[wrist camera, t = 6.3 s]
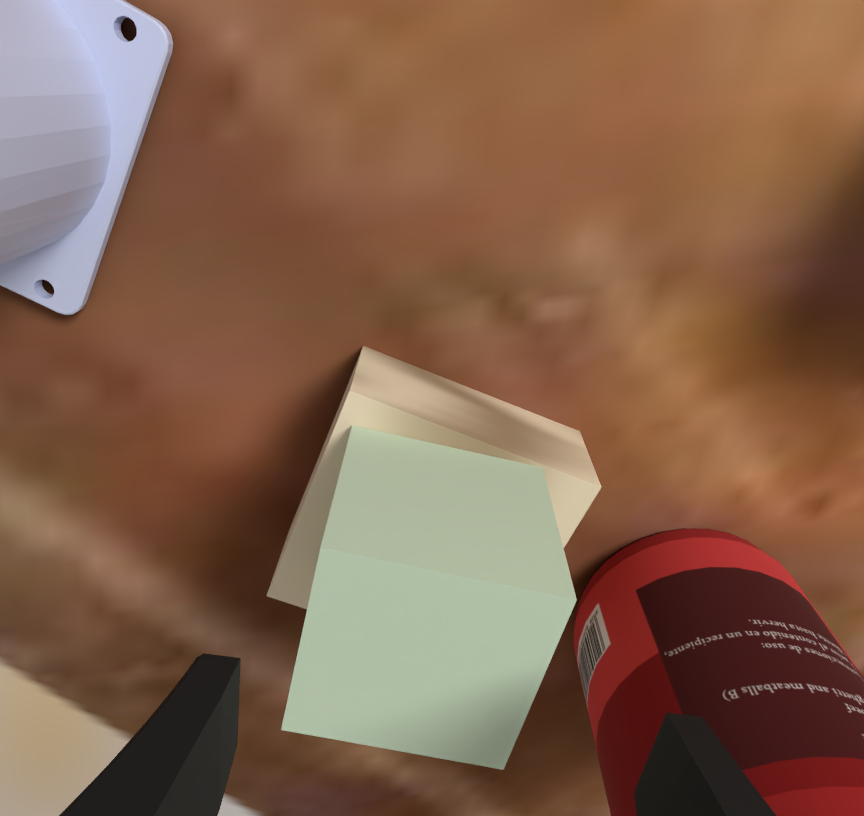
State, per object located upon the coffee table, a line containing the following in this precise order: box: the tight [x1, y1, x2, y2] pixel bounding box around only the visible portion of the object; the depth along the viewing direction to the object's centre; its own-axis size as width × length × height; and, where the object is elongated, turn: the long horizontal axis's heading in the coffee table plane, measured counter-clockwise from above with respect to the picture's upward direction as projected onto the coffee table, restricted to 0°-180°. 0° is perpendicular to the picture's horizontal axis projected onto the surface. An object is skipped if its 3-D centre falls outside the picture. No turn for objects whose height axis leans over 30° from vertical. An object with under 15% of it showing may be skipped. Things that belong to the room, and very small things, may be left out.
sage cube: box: [281, 425, 577, 770], centre depth 16 cm, size 5×5×5 cm
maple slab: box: [267, 346, 601, 609], centre depth 20 cm, size 7×7×4 cm
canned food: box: [573, 529, 864, 816], centre depth 19 cm, size 8×8×11 cm
